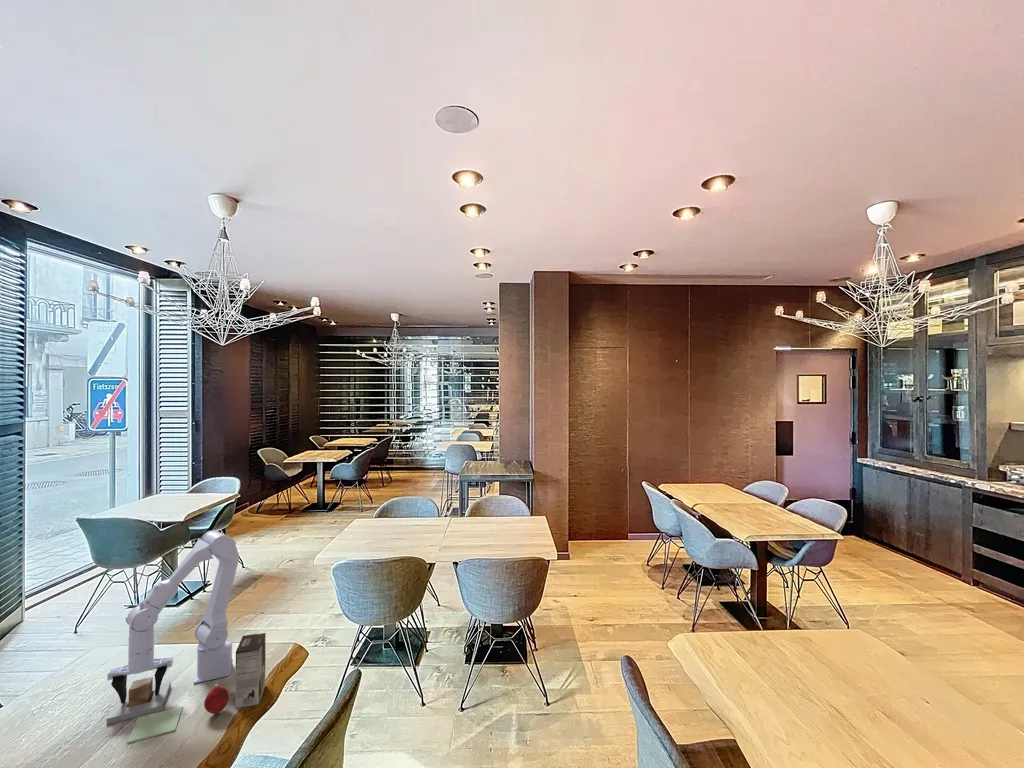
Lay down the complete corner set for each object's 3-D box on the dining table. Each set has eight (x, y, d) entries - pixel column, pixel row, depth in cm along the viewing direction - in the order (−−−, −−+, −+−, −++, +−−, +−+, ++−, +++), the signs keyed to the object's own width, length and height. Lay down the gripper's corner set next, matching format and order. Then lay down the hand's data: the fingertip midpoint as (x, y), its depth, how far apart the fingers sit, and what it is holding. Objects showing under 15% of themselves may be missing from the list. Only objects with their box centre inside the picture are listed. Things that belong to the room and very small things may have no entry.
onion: (233, 709, 130) (234, 680, 131) (214, 722, 125) (215, 693, 125) (218, 704, 132) (218, 676, 132) (199, 717, 127) (199, 688, 127)
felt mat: (182, 707, 131) (182, 706, 131) (175, 731, 122) (175, 729, 122) (138, 718, 127) (138, 717, 127) (127, 743, 118) (127, 742, 118)
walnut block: (152, 697, 135) (152, 676, 135) (148, 706, 131) (148, 685, 131) (133, 702, 133) (133, 681, 133) (128, 711, 129) (128, 690, 129)
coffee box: (242, 689, 139) (242, 635, 139) (266, 685, 141) (266, 631, 141) (234, 709, 130) (234, 651, 131) (259, 704, 132) (260, 647, 133)
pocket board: (170, 686, 140) (170, 681, 140) (161, 710, 130) (161, 705, 130) (120, 697, 135) (120, 692, 135) (106, 724, 124) (106, 718, 124)
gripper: (175, 636, 139) (174, 682, 139) (113, 648, 133) (112, 696, 133) (170, 648, 133) (169, 696, 133) (105, 661, 127) (104, 711, 126)
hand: (140, 697), depth 132 cm, fingers open, 7 cm apart
